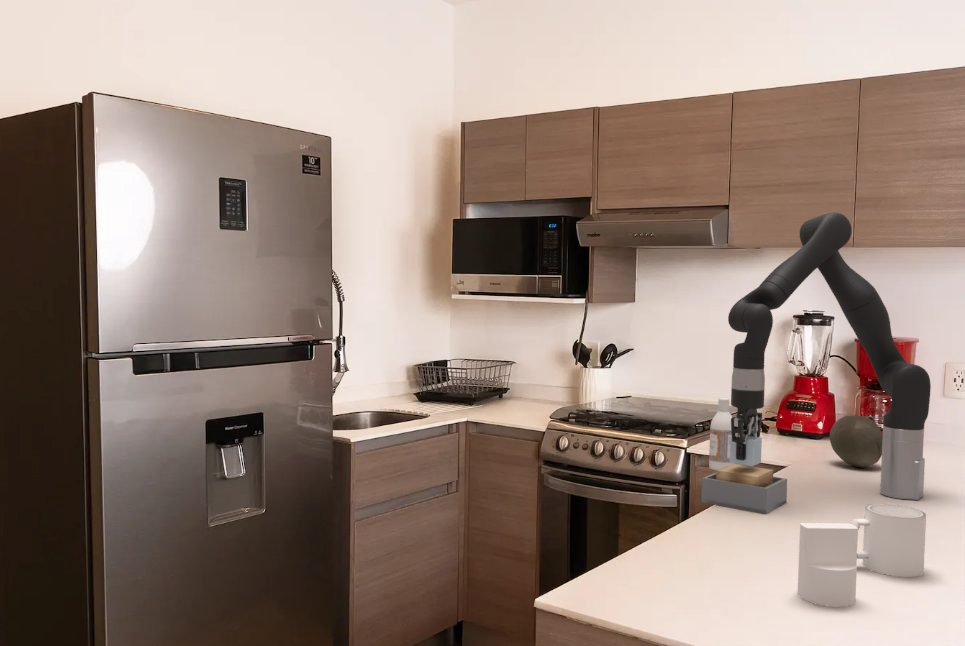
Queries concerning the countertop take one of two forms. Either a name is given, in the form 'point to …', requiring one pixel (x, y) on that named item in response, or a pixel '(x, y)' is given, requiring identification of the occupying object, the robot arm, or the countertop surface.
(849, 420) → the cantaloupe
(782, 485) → the tote
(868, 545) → the mug
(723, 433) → the bath foam
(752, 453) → the light blue cube
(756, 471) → the oak block
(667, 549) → the countertop surface
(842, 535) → the base with upright slab
